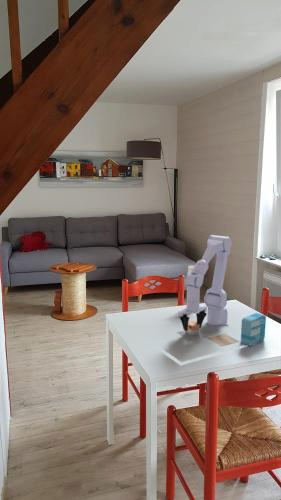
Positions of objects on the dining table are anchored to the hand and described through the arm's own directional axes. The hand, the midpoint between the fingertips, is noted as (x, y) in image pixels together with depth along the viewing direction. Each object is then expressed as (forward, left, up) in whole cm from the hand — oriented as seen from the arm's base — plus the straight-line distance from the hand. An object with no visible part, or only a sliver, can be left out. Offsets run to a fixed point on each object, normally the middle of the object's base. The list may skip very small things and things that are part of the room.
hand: (192, 328), depth 187 cm
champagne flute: (-22, -30, -4) cm, 37 cm away
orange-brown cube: (0, 0, -3) cm, 3 cm away
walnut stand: (-8, +12, -4) cm, 15 cm away
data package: (-20, +18, -4) cm, 27 cm away
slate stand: (0, 0, -4) cm, 4 cm away
